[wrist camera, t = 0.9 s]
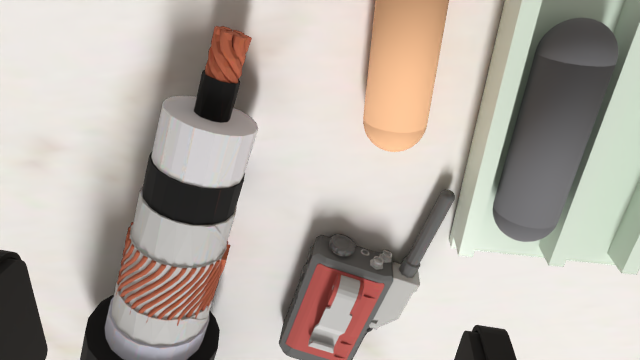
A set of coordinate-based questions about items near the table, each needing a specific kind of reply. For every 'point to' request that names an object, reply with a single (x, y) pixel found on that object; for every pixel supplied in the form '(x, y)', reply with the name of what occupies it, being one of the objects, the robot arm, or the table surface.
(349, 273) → the walkie-talkie
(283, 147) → the table surface
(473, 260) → the table surface
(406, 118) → the tan capsule
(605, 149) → the rack
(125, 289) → the cable
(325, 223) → the table surface
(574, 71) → the gray pill-shaped rod
